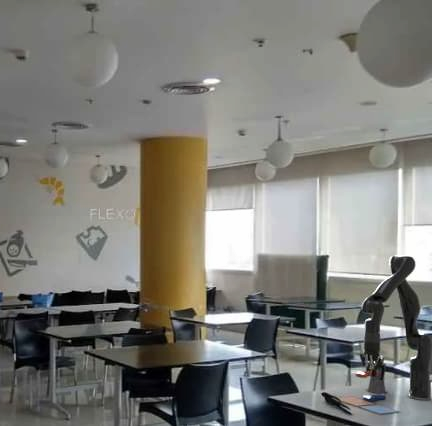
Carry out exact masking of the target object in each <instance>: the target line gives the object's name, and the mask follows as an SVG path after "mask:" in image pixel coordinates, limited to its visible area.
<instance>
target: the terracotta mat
mask: <svg viewBox="0 0 432 426" xmlns="http://www.w3.org/2000/svg"><path fill="white" fill-rule="evenodd" d="M338 398H339V399H340V401H341V403H346V404H348V405H350V406H354V407H362V406H372V405H376V404H375V403H374V402H367V401H364V400H363V399H360V398H357V397H354V396H347V397H338ZM335 400H337V399H335ZM337 401H338V400H337Z"/></svg>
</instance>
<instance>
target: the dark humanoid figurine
mask: <svg viewBox="0 0 432 426" xmlns="http://www.w3.org/2000/svg"><path fill="white" fill-rule="evenodd" d="M320 396H322V397H323V398H324V401H325V403H327V404H330V405H332V406H334V407H336V408H337V409H339V410H341V411H343V412H344V413H347V414H349V415H352V412H350V411H351V410H352V409H351V408H350V407H349V406H347V405H346V404H344V403H343V402H342V401H340V399H339V398H340V397H337V396H335V395H333V394H330V393H328V392H326V391H323V392H321V395H320ZM336 399H337V400H336Z"/></svg>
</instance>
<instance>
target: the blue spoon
mask: <svg viewBox="0 0 432 426" xmlns="http://www.w3.org/2000/svg"><path fill="white" fill-rule="evenodd" d="M386 398H387V396H386V393H376V394H371V395H363V396H362V400H364V401H367V402H371V403H374V402H375V401H379V400H385V399H386Z"/></svg>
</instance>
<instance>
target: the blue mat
mask: <svg viewBox="0 0 432 426" xmlns="http://www.w3.org/2000/svg"><path fill="white" fill-rule="evenodd" d="M359 408H360V409H364V410H366V411H369V412H372V413H375V414H377V415H385V414H396V413H399V410H396V409H392V408H391V407H390V408H389V407H386V406H383V405H381V404H375V405H366V406H359Z"/></svg>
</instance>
